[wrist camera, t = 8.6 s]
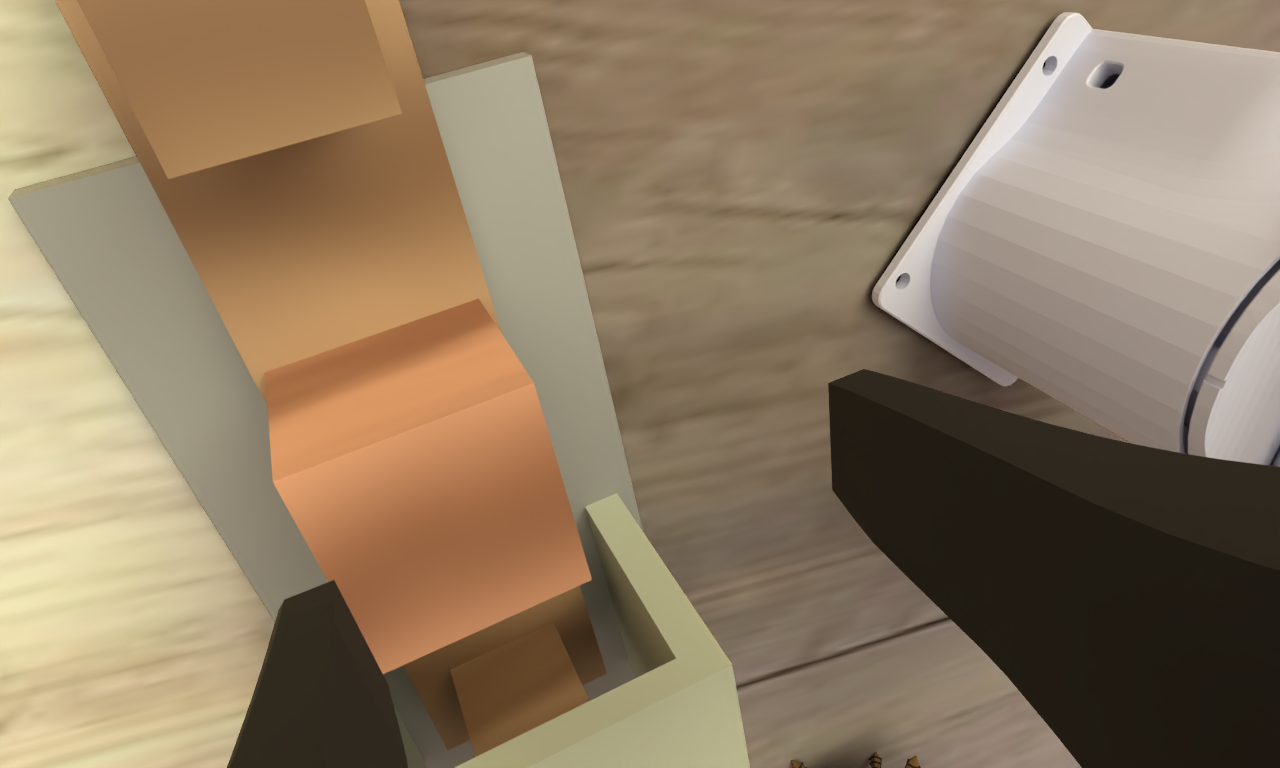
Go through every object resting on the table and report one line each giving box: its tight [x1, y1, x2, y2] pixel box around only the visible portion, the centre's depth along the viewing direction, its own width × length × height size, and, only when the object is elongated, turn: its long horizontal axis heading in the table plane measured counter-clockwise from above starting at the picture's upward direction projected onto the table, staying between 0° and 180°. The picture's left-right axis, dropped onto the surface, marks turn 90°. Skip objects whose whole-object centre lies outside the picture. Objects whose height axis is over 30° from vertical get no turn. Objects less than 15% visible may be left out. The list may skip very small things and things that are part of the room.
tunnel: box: [394, 493, 750, 768], centre depth 22 cm, size 7×9×7 cm
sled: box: [55, 0, 607, 757], centre depth 17 cm, size 21×5×6 cm, turn 11°
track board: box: [8, 52, 643, 768], centre depth 25 cm, size 31×10×1 cm, turn 11°
